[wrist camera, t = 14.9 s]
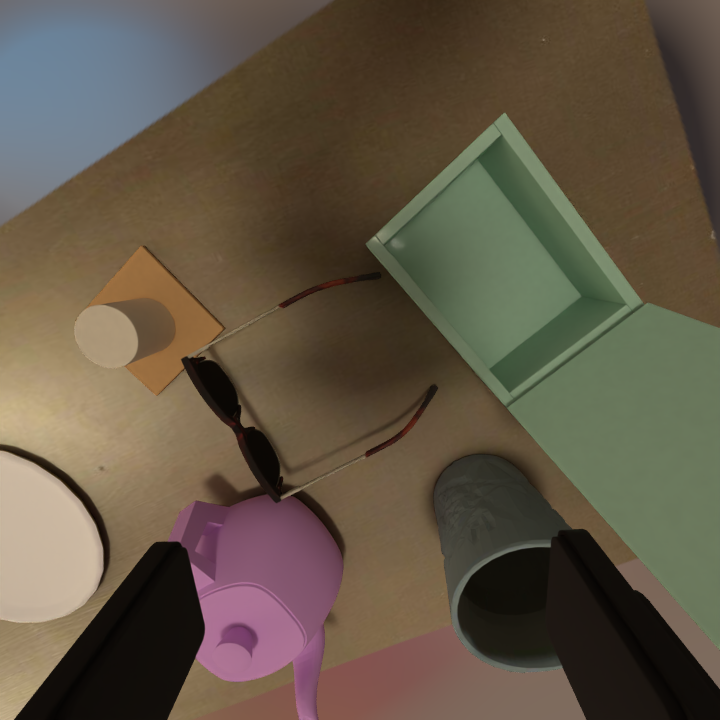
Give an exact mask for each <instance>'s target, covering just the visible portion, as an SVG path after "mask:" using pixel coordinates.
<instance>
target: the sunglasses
mask: <svg viewBox="0 0 720 720" xmlns="http://www.w3.org/2000/svg"><path fill="white" fill-rule="evenodd" d="M379 278H381V274H380V272H377V273H371V274H366V275H360V276H354V277H349V278H343V279H338V280H334V281H330V282H327V283H324V284H320V285H318V286H315V287H312V288H310V289H307V290H305V291H303V292H301V293H299V294H297V295H296V296H294V297H292V298H290V299H288V300H286V301H285V302H283V303H281V304H279V305H278V306H276V307H275V308H273V309H271V310H270V311H268V312H266V313H264V314H262V315H261V316H259V317H257V318H255V319H253V320H251V321H250V322H248V323H246V324H244V325H242V326H240V327H239V328H237V329H235V330H233V331H231V332H229V333H228V334H226V335H224V336H222V337H220V338H218V339H217V340H215V341H213V342H211V343H209V344H207V345H206V346H204V347H202V348H200V349H198V350H196V351H195V352H193V353H191V354H189V355H187V356H185V357H183V358H182V359H181V361H182V364H183V366H184V367H185V369H186V371H187V373H188V375H189V377H190V379H191V380H192V382H193V384H194V385H195V387H196V389H197V390H198V392H199V393H200V395H201V396H202V398H203V399H204V400H205V402H206V403H207V404H208V406H209V407H210V408H211V409H212V411H213V412H214V413H215V414H216V415H217V416H218V417H219V418H220V419H221V420H222V421H223V422H224V423H225V424H227V425H228V426H229V427H231V428H232V430H233V431H234V433H235V434H236V437H237V441H238V445H239V447H240V449H241V452H242V454H243V456H244V458H245V460H246V462H247V464H248V466H249V468H250V469H251V471H252V473H253V474H254V476H255V478H256V479H257V481H258V482H259V483H260V485H261V486H262V487H263V489H264V490H265V491H266V493H267V494H268V495H269V496H270V497H271V499H272V500H273V501H274V502H275V503H278V502H280V501H281V500H282V499H284V498H286V497H288V496H290V495H292V494H294V493H296V492H298V491H300V490H301V489H303V488H305V487H307V486H309V485H311V484H313V483H315V482H317V481H319V480H321V479H323V478H325V477H327V476H329V475H331V474H333V473H335V472H337V471H339V470H341V469H343V468H345V467H347V466H349V465H351V464H353V463H355V462H357V461H359V460H361V459H364V458H366V457H368V456H370V455H372V454H374V453H376V452H378V451H380V450H382V449H384V448H386V447H388V446H390V445H392V444H393V443H395V442H396V441H398V440H399V439H401V438H402V437H403V436H404V435H405V434H406V433H407V432H408V431H409V430H410V429H411V428H412V427H413V426H414V424H415V423H416V422H417V420H418V419H419V417H420V416H421V414H422V413H423V411H424V410H425V408H426V407H427V405H428V404H429V402H430V401H431V399H432V398H433V396H434V395H435V393H436V391H437V389H438V387H437V386H435V385H433V386H431V387H430V389H429V391H428V393H427V396H426V398H425V400H424V402H423V403H422V405H421V406H420V408H419V409H418V411H417V412H416V414H415V415H414V416H413V418H412V419H411V421H410V422H409V423H408V424H407V426H406V427H405V428H404V429H403V430H401V431H400V432H399V433H398V434H397V435H395V436H394V437H392V438H391V439H389V440H387V441H386V442H384V443H382V444H380V445H378V446H376V447H374V448H372V449H370V450H368V451H367V452H366V453H365V454H363V455H361V456H360V457H358V458H356V459H354V460H351V461H349V462H347V463H345V464H344V465H342V466H340V467H338V468H336V469H334V470H332V471H330V472H328V473H326V474H324V475H322V476H320V477H318V478H316V479H314V480H312V481H310V482H308V483H306V484H304V485H302V486H297V487H295V488H293V489H291V490H289V491H287V492H285V493H284V494H282V491H281V487H282V483H283V477H282V476H281V477H280V461H279V458H278V455H277V453H276V451H275V449H274V447H273V446H272V444H271V442H270V441H269V439H268V438H267V436H266V435H265V434H264V433H263V432H262V431H260V430H257V429H255V427H248V428H244V427H243V426H242V425H241V423H240V415H241V405H238V404H239V401H238V394H237V391H236V388H235V386H234V384H233V383H232V381H231V379H230V378H229V377H228V375H227V374H226V372H225V371H224V370H223V369H222V368H221V366H220V365H219V364H218V363H217V362H215V361H212V360H205V359H206V357H199V358H194V357H193V356H195V355H197V354H199V353H201V352H202V351H204V350H206V349H208V348H210V346H211V345H213V344H215V343H216V342H218V341H220V340H222V339H224V338H226V337H227V336H229V335H231V334H233V333H235V332H237V331H238V330H240V329H242V328H244V327H246V326H248V325H250V324H251V323H253V322H255V321H257V320H259V319H261V318H262V317H264V316H266V315H268V314H270V313H272V312H273V311H275V310H277V309H279V308H285V307H287V306H289V305H291V304H292V303H294V302H296V301H298V300H300V299H302V298H304V297H306V296H308V295H310V294H312V293H314V292H317V291H320V290H323V289H326V288H329V287H332V286H336V285H341V284H347V283H352V282H358V281H364V280H373V279H379Z"/></svg>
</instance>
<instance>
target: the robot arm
mask: <svg viewBox="0 0 720 720" xmlns="http://www.w3.org/2000/svg"><path fill="white" fill-rule="evenodd" d="M545 623H546V629H547V633H548V636H549V638H550V641H551V643H552V645H553V647H554V650H555V652H556V654H557V656H558V658H559V661H560V663H561V665H562V667H563V669H564V671H565V673H566V676H567V678H568V680H569V682H570V685H571V687H572V689H573V691H574V693H575V695H576V698H577V700H578V702H579V704H580V707H581V708H582V711H583V713H584V715H585V717H586V720H720V689H719V688H718V686H717V685H716V684H715V683H714V681H713V680H712V679H711V678H710V676H708V674H707V673H706V671H705V670H704V669H703V668H702V666H701V665H700V664H699V663H698V661H697V660H696V659H695V658H694V656H693V655H692V654H691V653H690V651H689V650H688V649H687V648H686V646H685V645H684V644H683V643H682V641H681V640H680V639H679V638H678V636H677V635H676V634H675V633H674V631H673V630H672V629H671V628H670V626H669V625H668V624H667V623H666V621H665V620H664V619H663V618H662V617H661V615H660V614H659V613H658V611H657V610H656V609H655V608H654V606H653V605H652V604H651V603H650V601H649V600H648V599H647V598H646V597H645V596H644V595H643V594H642V593H640V592H638V591H636V590H633V589H632V587H631V586H630V585H629V584H628V582H627V581H626V580H625V579H624V577H623V576H622V575H621V573H620V572H619V571H618V569H617V568H616V567H615V566H614V564H613V563H612V562H611V560H610V559H609V558H608V557H607V555H606V554H605V553H604V551H603V550H602V549H601V548H600V546H599V545H598V544H597V542H596V541H595V540H594V539H593V537H592V536H591V535H590V533H589V532H588V531H587V530H584V529H573V530H559V532H558V535H557V536H555V537H552V539H551V548H550V562H549V576H548V589H547V603H546V616H545ZM204 634H205V623H204V619H203V614H202V610H201V606H200V602H199V597H198V593H197V589H196V585H195V580H194V576H193V572H192V568H191V563H190V559H189V555H188V551H187V549H186V548H185V547H182V545H181V543H180V542H178V541H170V542H156V543H154V544H153V545H152V546H151V547H150V548H149V549H148V551H147V552H146V553H145V554H144V556H143V557H142V558H141V559H140V561H139V562H138V563H137V564H136V566H135V567H134V568H133V570H132V571H131V572H130V573H129V575H128V576H127V577H126V578H125V580H124V581H123V582H122V583H121V585H120V586H119V587H118V589H117V590H116V591H115V592H114V594H113V595H112V596H111V597H110V599H109V600H108V601H107V602H106V604H105V605H104V606H103V608H102V609H101V610H100V611H99V613H98V614H97V615H96V616H95V618H94V619H93V620H92V621H91V623H90V624H89V625H88V627H87V628H86V629H85V630H84V632H83V633H82V634H81V635H80V637H79V638H78V639H77V640H76V642H75V643H74V644H73V646H72V647H71V648H70V649H69V651H68V652H67V653H66V654H65V656H64V657H63V658H62V659H61V661H60V662H59V663H58V665H57V666H56V667H55V668H54V670H53V671H52V672H51V673H50V675H49V676H48V677H47V678H46V680H45V681H44V682H43V684H42V685H41V686H40V687H39V689H38V690H37V691H36V692H35V694H34V695H33V696H32V697H31V699H30V700H29V701H28V703H27V704H26V705H25V706H24V708H23V709H22V710H21V711H20V713H19V714H18V715H17V716H16V718H15V719H14V720H167V719H168V717H169V714H170V712H171V710H172V708H173V706H174V703H175V701H176V699H177V697H178V695H179V692H180V690H181V688H182V686H183V684H184V681H185V679H186V677H187V675H188V673H189V671H190V668H191V666H192V664H193V662H194V660H195V657H196V655H197V653H198V651H199V649H200V646H201V644H202V642H203V639H204Z"/></svg>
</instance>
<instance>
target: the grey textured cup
mask: <svg viewBox="0 0 720 720" xmlns="http://www.w3.org/2000/svg"><path fill="white" fill-rule="evenodd" d="M434 508H435V513H436V518H437V523H438V527H439V536H440V542H441V551H442V554H443V555H444V556H445V559H444V569H445V575H446V583H447V589H448V597H449V605H450V612H451V619H452V624H453V627H454V630H455V633H456V634H457V636H458V638H459V640H460V641H461V643H462V644H463V645H464V646H465V647H466V648H467V649H468V650H469V652H470V653H472V654H473V655H474V656H476V657H477V658H479V659H480V660H482V661H484V662H485V663H487V664H489V665H491V666H493V667H497V668H500V669H504V670H507V671H511V672H521V673H525V672H540V671H550V670H556V669H561V668H563V667H562V665H561V663H560V661H559V658H558V656H557V654H556V652H555V650H554V647H553V645H552V643H551V641H550V638H549V636H548V633H547V629H546V623H545V616H546V603H547V589H548V576H549V562H550V548H551V539H552V537H555V536H557V535H558V532H559V530H573V529H572V528H571V527H570V526H569V525H568V524H567V523H566V522H565V521H564V519H563V518H562V517H561V516H560V515H559V514H558V513H557V511H555V510H554V509H552V508H551V505H550V504H549V503H548V501H547V500H546V499H545V498H543V496H542V495H541V494H540V493H539V492H538V491H537V490H536V488H535V487H534V486H532V485H530V483H529V481H528V480H527V479H526V477H525V476H524V475H523V474H522V473H521V472H520V471H519V470H518V469H517V468H516V467H515V466H514V465H512V464H511V463H510V462H508V461H506V460H505V459H502V458H500V457H497V456H493V455H485V454H480V455H471V456H468V457H465V458H461V459H460V460H458V461H455V462H453V463H452V465H451V466H448V467H447V469H446V470H444V472H443V473H442V475H441V476H440V478H439V480H438V482H437V484H436V486H435V490H434Z"/></svg>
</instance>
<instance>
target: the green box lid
mask: <svg viewBox="0 0 720 720" xmlns="http://www.w3.org/2000/svg"><path fill="white" fill-rule="evenodd" d="M507 409H508V410H509V411H510V413H511V414H512V415H513V416H514V417H515V418H516V419H517V421H518V422H519V423H520V424H521V425H522V426H523V427H524V428H525V430H526V431H527V432H528V433H529V434H530V435H531V436H532V438H533V439H534V440H535V441H536V442H537V443H538V444H539V446H540V447H541V448H542V449H543V450H544V451H545V452H546V453H547V455H548V456H549V457H550V458H551V459H552V460H553V461H554V463H555V464H556V465H557V466H558V467H559V468H560V469H561V471H562V472H563V473H564V474H565V475H566V476H567V477H568V478H569V480H570V481H571V482H572V483H573V484H574V485H575V486H576V488H577V489H578V490H579V491H580V492H581V493H582V494H583V496H584V497H585V498H586V499H587V500H588V501H589V502H590V503H591V505H592V506H593V507H594V508H595V509H596V510H597V511H598V513H599V514H600V515H601V516H602V517H603V518H604V519H605V521H606V522H607V523H608V524H609V525H610V526H611V527H612V529H613V530H614V531H615V532H616V533H617V534H618V535H619V536H620V538H621V539H622V540H623V541H624V542H625V543H626V544H627V546H628V547H629V548H630V549H631V550H632V551H633V552H634V554H635V555H636V556H637V557H638V558H639V559H640V560H641V561H642V563H643V564H644V565H645V566H646V567H647V568H648V569H649V571H650V572H651V573H652V574H653V575H654V576H655V577H656V578H657V580H658V581H659V582H660V583H661V584H662V585H663V586H664V588H665V589H666V590H667V591H668V592H669V593H670V594H671V596H672V597H673V598H674V599H675V600H676V601H677V602H678V604H679V605H680V606H681V607H682V608H683V609H684V610H685V611H686V613H687V614H688V615H689V616H690V617H691V618H692V619H693V621H695V623H696V624H697V625H698V626H699V627H700V629H701V630H702V631H703V632H704V633H705V634H706V635H707V636H708V638H709V639H710V640H711V641H712V642H713V643H714V644H715V645H716V647H717V648H718V649H719V650H720V328H718V327H715V326H712V325H709V324H706V323H704V322H701V321H698V320H695V319H693V318H690V317H687V316H684V315H681V314H679V313H676V312H673V311H670V310H667V309H665V308H662V307H659V306H656V305H654V304H651V303H647V304H645V305H644V306H643V307H641V308H640V309H639V310H637V311H636V312H635V313H633V314H632V315H631V316H629V317H628V318H627V319H625V320H624V321H623V322H621V323H620V324H619V325H617V326H616V327H615V328H613V329H612V330H611V331H609V332H608V333H607V334H605V335H604V336H602V337H601V338H600V339H598V340H597V341H596V342H594V343H593V344H592V345H590V346H589V347H588V348H586V349H585V350H584V351H582V352H581V353H580V354H578V355H577V356H576V357H574V358H573V359H572V360H570V361H569V362H568V363H566V364H565V365H564V366H562V367H561V368H560V369H558V370H557V371H556V372H554V373H553V374H552V375H550V376H549V377H547V378H546V379H545V380H543V381H542V382H541V383H539V384H538V385H537V386H535V387H534V388H533V389H531V390H530V391H529V392H527V393H526V394H525V395H523V396H522V397H521V398H519V399H518V400H517V401H515V402H514V403H513V404H511V405H510V406H509V407H507Z"/></svg>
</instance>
